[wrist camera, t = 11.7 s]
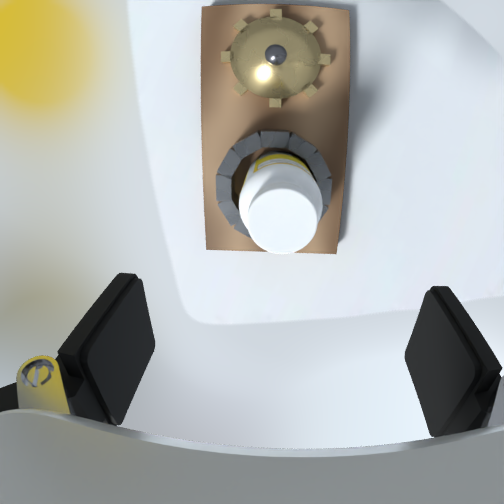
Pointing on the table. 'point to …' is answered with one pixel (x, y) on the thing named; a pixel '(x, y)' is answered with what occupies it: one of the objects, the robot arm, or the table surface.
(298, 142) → the socket ring
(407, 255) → the table surface
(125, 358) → the robot arm
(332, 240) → the gear board
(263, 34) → the brass gear
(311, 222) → the supplement bottle
